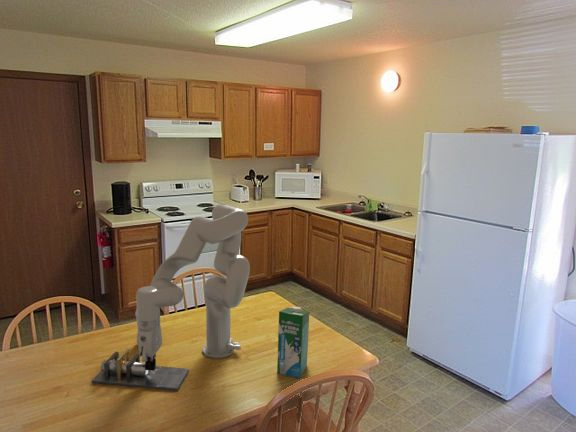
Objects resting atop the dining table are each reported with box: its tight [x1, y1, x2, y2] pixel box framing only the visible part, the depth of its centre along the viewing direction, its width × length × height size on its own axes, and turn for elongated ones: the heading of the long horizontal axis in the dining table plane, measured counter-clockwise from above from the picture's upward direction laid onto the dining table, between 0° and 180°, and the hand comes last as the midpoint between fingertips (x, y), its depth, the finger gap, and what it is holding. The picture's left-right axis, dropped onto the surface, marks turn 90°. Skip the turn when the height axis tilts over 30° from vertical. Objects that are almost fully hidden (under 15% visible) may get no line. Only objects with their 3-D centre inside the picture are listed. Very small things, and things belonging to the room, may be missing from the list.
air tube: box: [100, 359, 148, 375], centre depth 151 cm, size 16×4×4 cm, turn 85°
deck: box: [91, 365, 190, 392], centre depth 151 cm, size 31×12×1 cm, turn 85°
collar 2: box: [126, 352, 141, 380], centre depth 150 cm, size 1×8×6 cm, turn 174°
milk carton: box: [276, 306, 310, 379], centre depth 157 cm, size 9×9×25 cm
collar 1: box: [104, 351, 120, 378], centre depth 151 cm, size 1×8×6 cm, turn 175°
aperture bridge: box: [117, 348, 131, 379], centre depth 151 cm, size 1×8×8 cm, turn 174°
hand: (150, 369), depth 150 cm, fingers closed
